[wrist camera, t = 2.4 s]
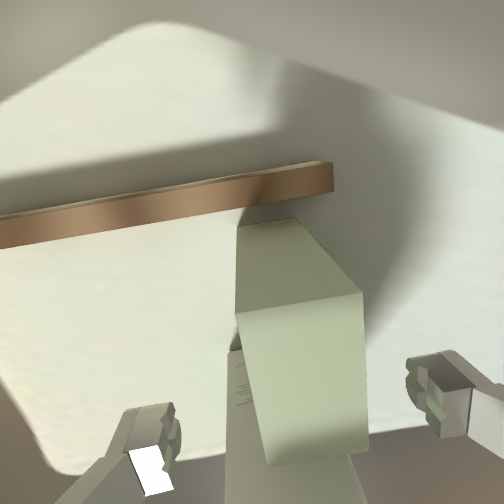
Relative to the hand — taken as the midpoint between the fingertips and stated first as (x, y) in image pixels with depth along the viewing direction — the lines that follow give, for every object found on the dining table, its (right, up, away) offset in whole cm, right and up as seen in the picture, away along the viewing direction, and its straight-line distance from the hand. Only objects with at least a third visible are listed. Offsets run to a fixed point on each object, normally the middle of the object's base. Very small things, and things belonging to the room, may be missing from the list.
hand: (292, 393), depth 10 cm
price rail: (-8, +8, +9) cm, 14 cm away
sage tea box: (0, +4, +11) cm, 11 cm away
